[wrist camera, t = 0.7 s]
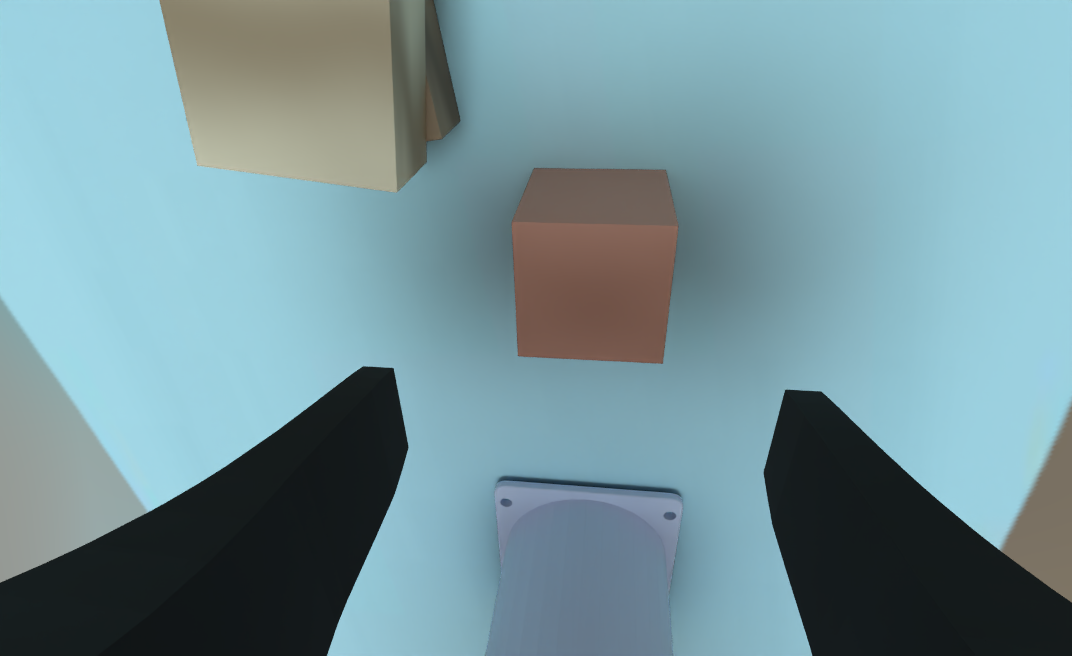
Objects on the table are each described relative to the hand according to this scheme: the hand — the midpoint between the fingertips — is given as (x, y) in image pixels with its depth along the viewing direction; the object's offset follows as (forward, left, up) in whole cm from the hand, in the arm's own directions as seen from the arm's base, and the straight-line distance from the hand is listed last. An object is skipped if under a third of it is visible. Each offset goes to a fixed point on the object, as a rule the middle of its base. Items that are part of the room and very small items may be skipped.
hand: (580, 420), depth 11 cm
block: (0, 0, -9) cm, 9 cm away
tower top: (+5, +7, -7) cm, 11 cm away
